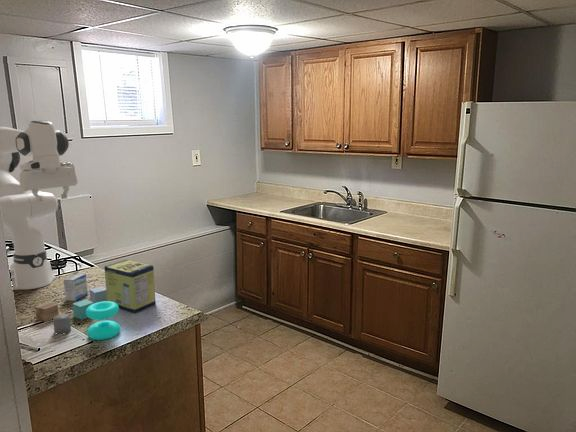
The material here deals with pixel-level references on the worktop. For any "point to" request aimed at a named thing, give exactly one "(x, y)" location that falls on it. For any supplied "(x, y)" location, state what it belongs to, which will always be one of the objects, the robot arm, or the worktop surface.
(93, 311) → the donuts
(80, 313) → the teal block
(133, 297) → the protein box
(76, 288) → the medicine box
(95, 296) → the slate blue block
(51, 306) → the walnut block
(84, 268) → the worktop surface
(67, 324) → the charcoal cylinder
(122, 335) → the worktop surface
